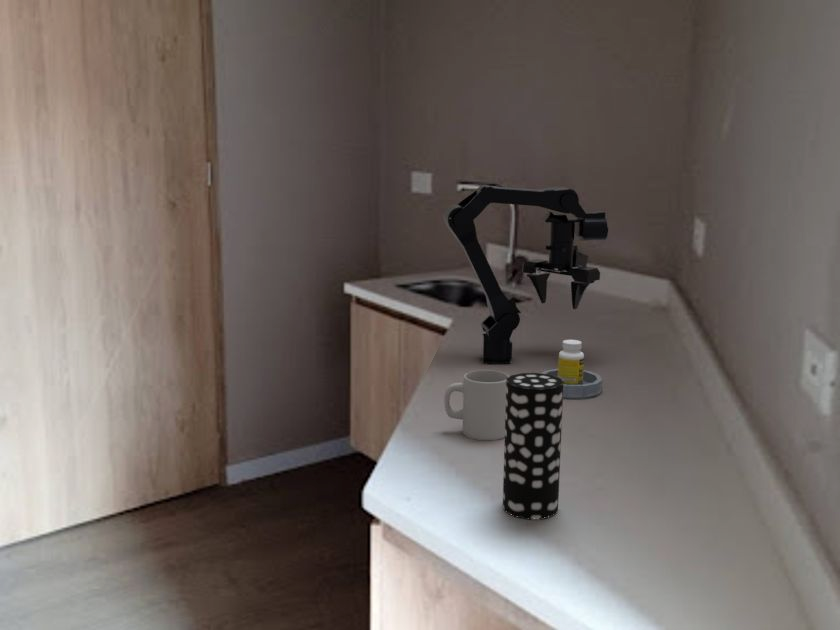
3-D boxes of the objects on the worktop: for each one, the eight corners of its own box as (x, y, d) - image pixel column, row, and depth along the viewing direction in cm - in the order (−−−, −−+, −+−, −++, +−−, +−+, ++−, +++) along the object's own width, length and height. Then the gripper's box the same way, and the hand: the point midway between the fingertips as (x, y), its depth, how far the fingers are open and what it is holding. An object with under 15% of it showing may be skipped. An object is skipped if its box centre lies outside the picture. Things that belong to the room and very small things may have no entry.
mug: (508, 425, 175) (509, 370, 173) (508, 441, 167) (510, 383, 164) (445, 423, 176) (445, 368, 173) (442, 439, 168) (443, 381, 165)
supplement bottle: (582, 390, 195) (584, 345, 192) (556, 388, 196) (558, 344, 193) (583, 383, 200) (585, 339, 198) (557, 381, 201) (559, 338, 199)
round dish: (543, 398, 191) (544, 386, 191) (535, 380, 204) (535, 368, 204) (606, 399, 191) (607, 386, 191) (594, 380, 204) (595, 368, 204)
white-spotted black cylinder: (498, 497, 143) (501, 373, 138) (551, 495, 143) (556, 372, 139) (507, 520, 135) (511, 389, 130) (563, 518, 135) (569, 388, 131)
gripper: (614, 242, 215) (611, 307, 219) (550, 234, 228) (547, 295, 231) (587, 246, 207) (584, 314, 211) (522, 238, 220) (520, 302, 224)
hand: (559, 306), depth 219 cm, fingers open, 9 cm apart
